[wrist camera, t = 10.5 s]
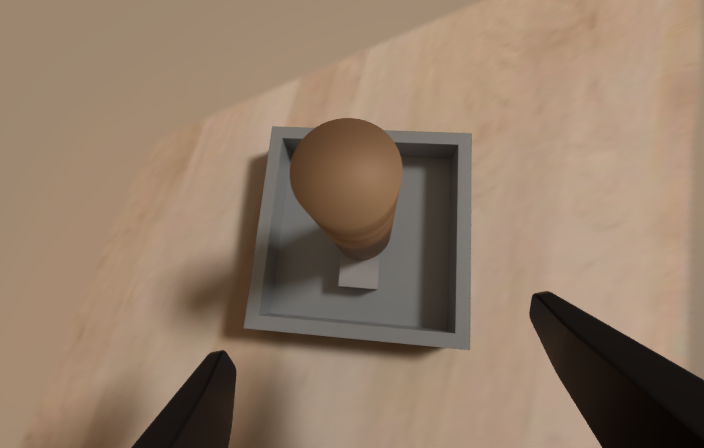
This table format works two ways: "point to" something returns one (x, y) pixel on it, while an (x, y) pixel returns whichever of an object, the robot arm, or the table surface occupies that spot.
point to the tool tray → (395, 260)
